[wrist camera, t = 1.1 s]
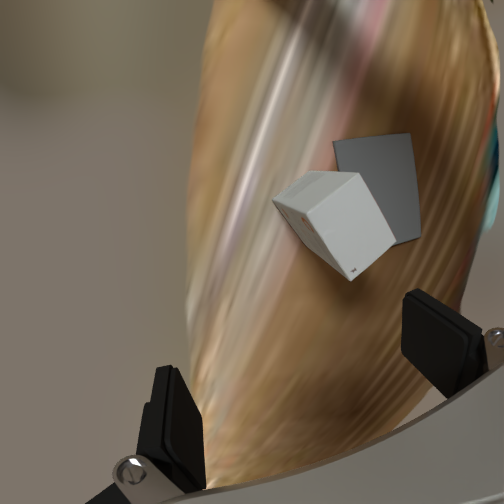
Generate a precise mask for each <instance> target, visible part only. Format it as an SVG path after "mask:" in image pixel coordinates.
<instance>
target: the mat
mask: <svg viewBox="0 0 504 504" xmlns="http://www.w3.org/2000/svg"><path fill="white" fill-rule="evenodd" d="M332 142H333V147H334V152H335V157H336V162H337V168H338V172H355V173H360V175H361V177H362V178H363V180H364V182H365V183H366V185H367V187H368V188H369V190H370V192H371V194H372V195H373V197H374V199H375V200H376V202H377V204H378V206H379V208H380V210H381V212H382V213H383V215H384V217H385V219H386V221H387V223H388V225H389V227H390V228H391V230H392V232H393V234H394V236H395V238H396V242H395V243H394V244H393V245H396V244H399V243H402V242H406V241H409V240H412V239H415V238H418V237H421V223H420V207H419V195H418V185H417V176H416V168H415V160H414V154H413V147H412V141H411V135H410V133H404V134H392V135H381V136H371V137H362V138H354V139H346V140H339V141H332ZM393 245H392V246H393Z"/></svg>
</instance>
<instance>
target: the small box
mask: <svg viewBox="0 0 504 504" xmlns="http://www.w3.org/2000/svg"><path fill="white" fill-rule="evenodd" d="M272 201H273V202H274V203H275V205H276V206H277V208H278V209H279V210H280V212H281V213H282V214H283V216H284V217H285V218H286V220H287V221H288V222H289V224H290V225H291V226H292V228H293V229H294V231H295V232H296V233H297V235H298V236H299V237H300V239H301V240H302V241H303V243H304V244H305V245H306V246H307V247H308V248H309V249H310V250H312V251H313V252H314V253H316V254H317V255H318V256H320V257H321V258H322V259H323V260H325V261H326V262H327V263H328V264H329V265H331V266H332V267H333V268H334V269H335V270H337V271H338V272H339V273H340V274H342V275H343V276H344V277H345V278H347V279H348V280H349V281H352V280H353V279H354V278H355V277H357V276H358V275H359V274H360V273H361V272H363V271H364V270H365V269H366V268H367V267H368V266H370V265H371V264H372V263H373V262H374V261H375V260H376V259H378V258H379V257H380V256H381V255H382V254H383V253H384V252H385V251H386V250H388V249H389V248H390V247H391V246H392V245H393V244H394V243H395V242H396V238H395V236H394V234H393V232H392V230H391V228H390V227H389V225H388V223H387V221H386V219H385V217H384V215H383V213H382V212H381V210H380V208H379V206H378V204H377V202H376V200H375V199H374V197H373V195H372V194H371V192H370V190H369V188H368V187H367V185H366V183H365V182H364V180H363V178H362V177H361V175H360V173H355V172H335V171H308V172H307V173H306V174H304V175H303V176H302V177H301V178H299V179H298V180H297V181H295V182H294V183H293V184H291V185H290V186H289V187H287V188H286V189H285V190H284V191H282V192H281V193H280V194H278V195H277V196H276V197H274V198H273V199H272Z"/></svg>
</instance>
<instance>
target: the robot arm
mask: <svg viewBox="0 0 504 504" xmlns="http://www.w3.org/2000/svg"><path fill="white" fill-rule="evenodd" d="M481 333H482V329H481V328H480V327H478V326H477V325H475V324H474V323H472V322H471V321H469V320H468V319H466V318H465V317H463V316H462V315H460V314H459V313H457V312H456V311H454V310H452V309H451V308H449V307H448V306H446V305H445V304H443V303H441V302H440V301H438V300H437V299H435V298H433V297H432V296H430V295H429V294H427V293H425V292H424V291H422V290H420V289H418V288H417V289H414V290H412V291H410V292H407V293H406V294H405V297H404V298H403V307H402V337H401V351H402V354H403V355H404V356H405V357H406V358H407V359H408V360H409V361H410V362H411V363H412V364H413V365H414V366H415V367H416V368H417V369H418V370H419V371H420V372H421V373H422V374H423V375H424V376H425V377H426V378H427V379H428V380H429V381H430V382H431V383H432V384H433V385H434V386H435V387H436V388H437V389H438V390H439V391H440V392H441V393H442V394H443V395H444V396H445V397H446V398H447V400H446V401H444V402H443V403H441V404H439V405H438V406H436V407H434V408H433V409H431V410H429V411H428V412H426V413H424V414H422V415H421V416H419V417H417V418H415V419H414V420H412V421H410V422H408V423H406V424H404V425H402V426H401V427H399V428H397V429H395V430H393V431H391V432H389V433H387V434H385V435H382V436H380V437H378V438H376V439H374V440H372V441H369V442H367V443H365V444H363V445H360V446H358V447H356V448H353V449H351V450H348V451H346V452H343V453H341V454H338V455H335V456H333V457H330V458H327V459H325V460H322V461H319V462H316V463H313V464H310V465H307V466H304V467H301V468H297V469H294V470H291V471H287V472H283V473H280V474H276V475H272V476H268V477H264V478H260V479H256V480H252V481H247V482H243V483H238V484H233V485H228V486H222V487H217V488H212V489H207V490H202V489H206V474H205V459H204V442H203V422H202V417H201V414H200V412H199V410H198V408H197V406H196V404H195V402H194V400H193V398H192V396H191V394H190V392H189V390H188V388H187V386H186V384H185V382H184V380H183V378H182V376H181V374H180V371H179V369H178V368H173V366H172V365H167V366H162V367H157V368H156V373H155V378H154V384H153V389H152V395H151V400H150V402H147V403H145V405H144V409H143V414H142V421H141V426H140V432H139V437H138V444H137V451H136V455H130V456H126V457H125V458H123V459H121V460H120V461H119V462H117V464H116V465H115V467H114V469H113V472H112V475H113V479H114V483H113V484H111V485H110V486H109V487H107V488H106V489H105V490H103V491H102V492H101V493H99V494H98V495H96V496H95V497H94V498H93V499H91V500H89V501H88V502H87V503H85V504H504V328H492V329H490V330H488V331H487V332H486V334H485V335H484V336H483V335H482V334H481Z"/></svg>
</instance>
